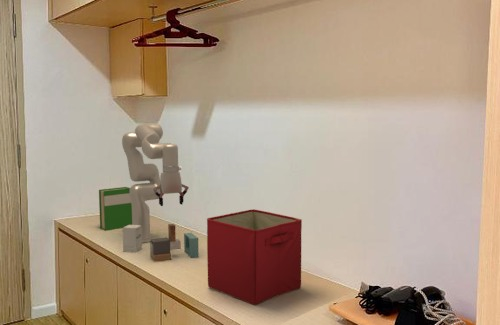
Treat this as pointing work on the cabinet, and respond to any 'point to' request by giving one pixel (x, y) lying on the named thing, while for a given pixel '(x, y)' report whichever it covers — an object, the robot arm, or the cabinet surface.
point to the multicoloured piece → (171, 239)
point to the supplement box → (132, 238)
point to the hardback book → (115, 208)
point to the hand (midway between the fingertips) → (171, 204)
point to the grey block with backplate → (161, 249)
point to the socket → (191, 245)
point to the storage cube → (254, 254)
